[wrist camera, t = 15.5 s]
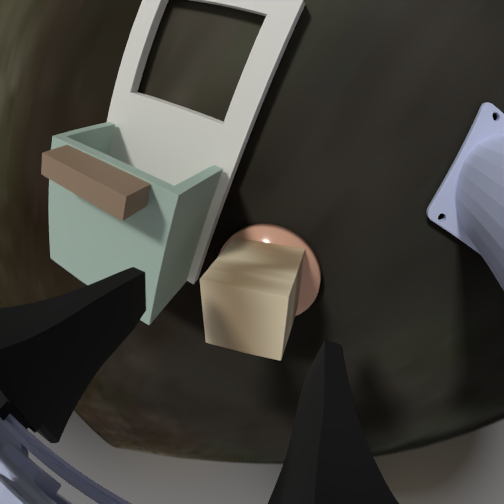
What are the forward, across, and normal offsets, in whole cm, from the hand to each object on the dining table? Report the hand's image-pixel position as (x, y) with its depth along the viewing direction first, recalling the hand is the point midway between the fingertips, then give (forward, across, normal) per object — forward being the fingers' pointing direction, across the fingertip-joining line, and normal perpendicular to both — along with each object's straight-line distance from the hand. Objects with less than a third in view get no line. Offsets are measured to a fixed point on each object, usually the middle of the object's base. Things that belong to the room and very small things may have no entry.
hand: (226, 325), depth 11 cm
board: (+9, +8, -4) cm, 13 cm away
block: (+8, 0, +3) cm, 9 cm away
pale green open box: (+8, +9, +1) cm, 12 cm away
